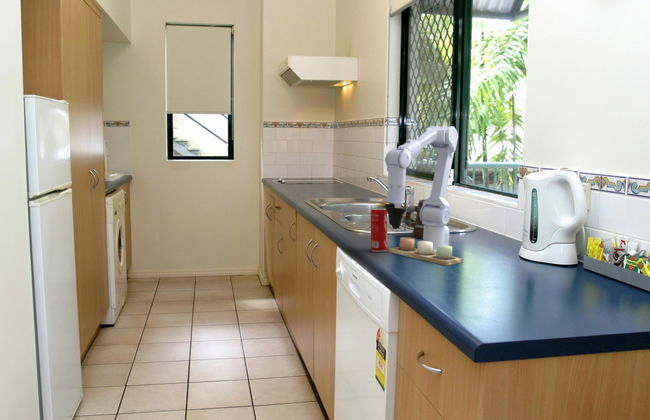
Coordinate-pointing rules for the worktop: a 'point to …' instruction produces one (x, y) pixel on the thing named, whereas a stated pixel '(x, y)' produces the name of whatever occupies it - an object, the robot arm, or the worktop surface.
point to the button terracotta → (407, 243)
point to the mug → (418, 224)
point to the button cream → (425, 247)
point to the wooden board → (426, 256)
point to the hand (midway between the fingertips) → (394, 226)
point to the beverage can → (378, 229)
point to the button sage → (444, 251)
